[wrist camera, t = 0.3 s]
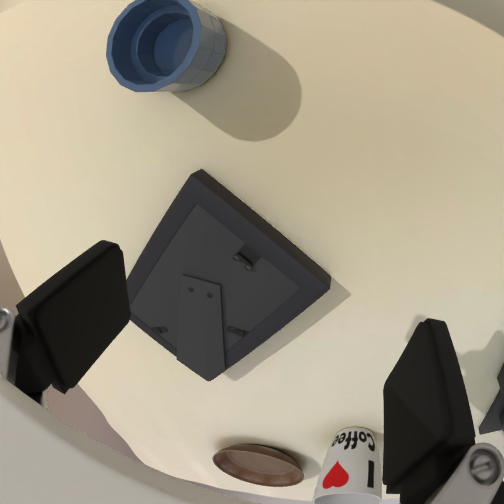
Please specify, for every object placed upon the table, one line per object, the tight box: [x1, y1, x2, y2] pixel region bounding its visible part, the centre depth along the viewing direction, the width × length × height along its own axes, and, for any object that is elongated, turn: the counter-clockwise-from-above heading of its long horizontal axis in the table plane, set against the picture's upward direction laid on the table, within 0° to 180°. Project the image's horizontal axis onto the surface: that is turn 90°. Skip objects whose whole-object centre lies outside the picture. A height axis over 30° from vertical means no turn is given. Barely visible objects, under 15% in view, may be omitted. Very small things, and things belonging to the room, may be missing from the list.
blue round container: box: [106, 0, 226, 92], centre depth 17 cm, size 7×7×5 cm
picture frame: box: [126, 169, 331, 381], centre depth 28 cm, size 13×2×18 cm
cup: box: [312, 427, 382, 504], centre depth 30 cm, size 8×8×10 cm
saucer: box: [213, 444, 304, 487], centre depth 41 cm, size 15×15×3 cm
